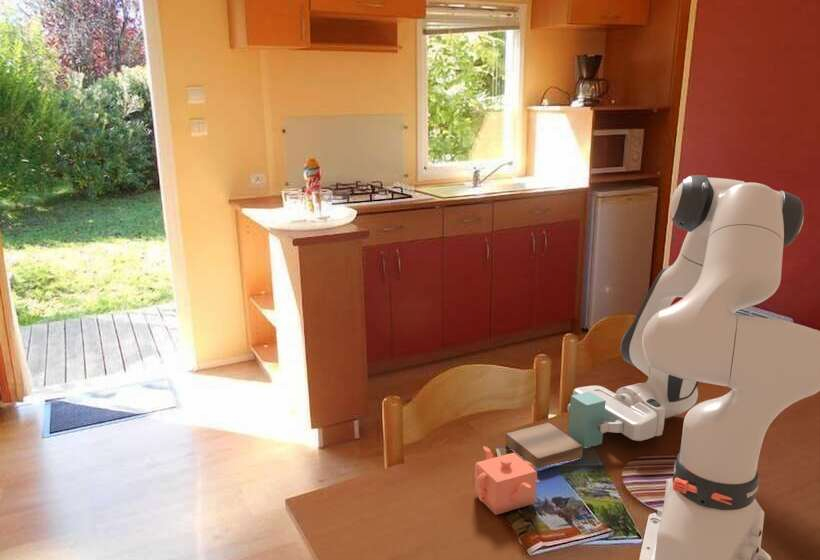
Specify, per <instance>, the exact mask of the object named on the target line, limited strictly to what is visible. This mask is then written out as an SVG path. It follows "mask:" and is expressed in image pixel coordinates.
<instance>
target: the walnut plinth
mask: <svg viewBox="0 0 820 560" xmlns="http://www.w3.org/2000/svg"><path fill="white" fill-rule="evenodd" d="M505 447H506V448H507V447H508V448H510V449H512V450H514V451H515V452H516V453H518V454H519V455H520V456H522V457H523V458H524V459H526V460H527V461H528V462H530V463H531V464H532V465H534V466H535V467H536V468H537V469H538V468H541V467H544V466H547V465H551V464H555V463H560V462H565V461H571V460H574V459H577V458H581V457H582V458H583V450H584V449H583V446H582V445H581V444H579V443H578V442H576V441H575V440H574V439H572V438H571V437H569V436H568V434H567V433H564V432H563V431H562V430H561V429H559V428H557V427H556V426H555V425H553V424H552V423H550V422H545V423H542V424H537V425H534V426H531V427H526V428H522V429H518V430H515V431H511V432H510V431H509V432H507V433H506V434H505ZM508 448H507V449H508ZM510 449H509V450H510Z"/></svg>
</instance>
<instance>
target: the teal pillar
mask: <svg viewBox="0 0 820 560" xmlns="http://www.w3.org/2000/svg"><path fill="white" fill-rule="evenodd" d="M605 403H606V400H604V399H602V398H600V397H598V396H597V395H595V394H593V393H591V392H590V391H589V392H585V393H581V394H576V395H573V394H572V395H570V403H569V404H570V412H569V419H568V420H569V422H568V430H567V431H568V434H567V435H568V436H569V437H571V438H572V439H574V440H575V441H576V442H578V443H579V444H581V445H582V446H583V448H585V447H589V446H593V447H595V446H596V447H597V446H598V445H602V444H603V439H604V436H603V435H604V433H602V432H600V431H599V430H597V427H598V426H597V424H598V423H599V422H602V421H604V415H605ZM589 448H590V447H589Z"/></svg>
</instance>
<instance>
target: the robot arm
mask: <svg viewBox="0 0 820 560" xmlns="http://www.w3.org/2000/svg"><path fill="white" fill-rule="evenodd" d="M669 206H670V213H671V214H670V215H671V221H672V222H673V223H674V225H675V226H676V227H677V228H679V229H681V230H683V231H686V232H687V233H686V235H685V238H684V239H683V242H682V246H681V248H680V251H679V254H678V256H677V258H676V259H675V261H674V262H673V264H672V265H671V264H670V265H667V266H665V267H664V268H662V269H661V270H660V272H659V273H658V274H657V276H656V277H655V279H654V281H653V282H652V284H651V286H650V288H649V289H648V292H647V294H646V296H645V298H644V299H643V302H642V304H641V305H640V308H639V310H638V312H637V314H636V315H635V318H634V320H633V321H632V323H631V325H630V326H629V327H628V329H627V330H626V331H625V332H624V335H623V336H622V338H621V341H620V354H621V357H622V360H623V361H625V362H626V363H628V364H629V365H631V366H633V367H635V368H636V369H638V370H640V371H641V372H642V373H643V374H645V375H646V376H647V381H645V382H638V383H634V384H631V385H626V386H622V387H620V388H618V389H617V390H616V392H613V391H611V390H610V389H608V388H606V387H604V386H601V385H587V386H581V387H575V388H574V389H573V392H572V395H576V394H581V393H585V392H589V391H590V392H591V393H593V394H595V395H597V396H598V397H600V398H602V399H604V400H606V403H605V415H604V421H602V422H599V423H598V424H597V426H598V427H597V430H599V431H600V432H602V433H603V434H605V433H617V434H619V433H621V434H622V435H624V436H625V437H627V438H628V439H630V440H632V441H638V442H643V441H645V440H649V439H652V438H654V437H660V436H662V435H663V431H664V428H665V427H664V426H665V419H668V418H672V417H674V416H678V415H680V414H682V413H684V412H686V411H687V413H686V415H685V416H684V418H683V425H682V432H681V433H682V435H681V443H680V449H679V452H678V453H677V456H676V460H675V463H674V465H673V466H674V467H673V475H672V477H670V478H667V479H666V481H665V483H666V484H665V491H664V492H665V493H664V501H663V507H662V508H661V507H657V509H656V512H653V513H650V514H648V517H647V522H646V526H645V531H644V536H643V540H642V543H641V544H642V545H641V549H640V554H639V559H638V560H772V557H771V555H770V554H769V553H767V552H766V551H765V550H764V549H763V548H761V545H762V540H763V539H762V537H763V529H764V521H765V511H764V510H763V508H762V506H760V504H759V503H758V500H757V499H756V497H757V492H758V490H759V483H760V481H759V471H758V463H759V457H760V453H761V449H762V445H763V442H764V438H765V435H766V433H767V431H768V429H769V427H770V425H771V424H772V423H773V421H774V420H775V419H776V418H777V416H778V415H780V414H781V413H782V412H783V411H784V410H785V409H787V408H788V407H789V406H792V405H793V404H795V403H796V402H798V401H800V400H803V399H805V398H809V397H811V396H814V395H815V394H818V393H819V392H820V330H818V329H816V328H815V329H814V328H812V327H808V326H806V325H802V324H799V323H795V322H792V321H788V320H785V319H784V320H782V319H775V318H774V319H773V318H765V317H758V316H750V315H741V314H737V313H736V312H738V311H740V310H743V309H745V308H748V307H752V306H755V305H758V304H761V303H763V302H765V301H766V300H768V299H769V298H770V297H772V296H773V295H774V294H775V293H777V292H776V291H778V288H779V287H780V284H781V280H782V269H783V268H782V267H783V255H784V253H783V252H784V248H785V247H787V246H789V245H791V244H792V243H793V242H794V241H795V240H796V238H797V236H798V234H799V233H800V232H801V230H802V226H803V225H804V214H805V208H804V207H805V206H804V204H803V202H802V200H801V198H800V197H798V196H797V195H794V194H792V193H790V192H787V191H785V190H782V189H781V190H779V191H778V190H775V189H773V188H771V187H770V186H768V185H766V184H763V183H759V182H745V181H744V180H737V179H733V178H732V179H730V178H721V177H708V175H704V174H702V175H701V174H698V175H695V174H694V175H688V176H687V177H686V178H683V179H682V180H681V181H680V183H679V184H678V186H677V187H676V188H675V190H674V192H673V194H672V196H671V200H670V205H669ZM677 298H682V299H680V300H679V301H677V302H675V303H673V302H674V300H675V299H677ZM672 303H673V304H672ZM699 383H704V384H711V385H716V386H722V387H728V388H730V389H731V390H730V391H729V392H727V393H726V394H724V395H721V396H719V397H714V398H712V399H706V400H704V401H701V402H699V403H697V404H696V402H697V401H698V397H699V392H698V391H699V390H698V387H697V386H698V385H699ZM567 412H568V413H570V403H568V405H567Z"/></svg>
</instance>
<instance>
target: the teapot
mask: <svg viewBox="0 0 820 560" xmlns="http://www.w3.org/2000/svg"><path fill="white" fill-rule="evenodd" d="M482 449H483V451H484V453H485V457H486V459H484V460H480V461H477V462H475V471H474V472H475V474H474V476H475V477H474V495H475V496H476V497H477V498H478V499H479V501H480V502H481V503H483V504H484V505H485V506H486V507H487V508H488V509H489V510H490V511H491V512H492V513H493V514H494V515H495V516H497V515H501V514H505V513H508V512H511V511H514V510H518V509H520V508H524V507H528V506H531V505H534V504H536V496H537V495H536V494H537V478H538V472H537V471H536V470H534V466H533V465H532V464H531V463H530V462H528V461H524V460H523V459H521V458H520V457H519V456H518V455H516V454H515V453H513V452H511V453H507V454H503V455H499V456H496V457H494V455H493V453H492V451H491V449H490V448H489V447H487V446H483V447H482Z"/></svg>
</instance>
